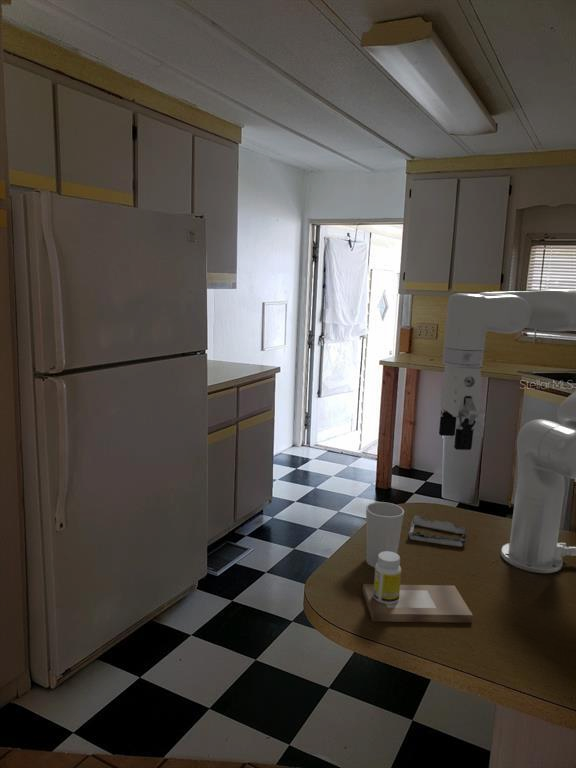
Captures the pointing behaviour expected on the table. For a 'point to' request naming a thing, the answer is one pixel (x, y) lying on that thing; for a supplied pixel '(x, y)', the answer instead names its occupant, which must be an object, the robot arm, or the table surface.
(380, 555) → the supplement bottle
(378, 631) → the table surface
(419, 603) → the board
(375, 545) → the cup
